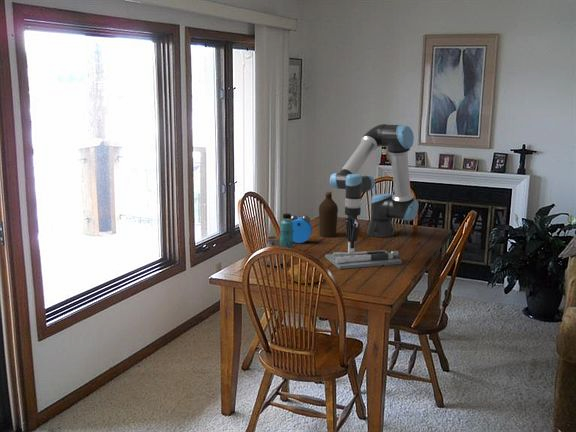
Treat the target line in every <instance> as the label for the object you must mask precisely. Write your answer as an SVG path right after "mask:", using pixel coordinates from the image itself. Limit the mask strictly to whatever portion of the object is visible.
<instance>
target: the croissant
mask: <svg viewBox="0 0 576 432" xmlns="http://www.w3.org/2000/svg"><path fill="white" fill-rule="evenodd" d="M305 263H306V262H302V263H301V264H302V284H301V285H305V284H304V280H305ZM298 264H299V263H297V264H295V265H293V266H294V280H295V282H294V283H297V281H298ZM287 274H288V276H287V278H288V277H289V278H288V280H289V281H291V267H290V268H289V269H288V271H287ZM311 276H312V267H310V268H309V278H308V279H309V282H310V281H311ZM317 282H320V281H319V277H318V273H317V272H316V273H315V283H314V284H316V283H317Z"/></svg>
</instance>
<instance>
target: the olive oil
mask: <svg viewBox="0 0 576 432" xmlns="http://www.w3.org/2000/svg"><path fill="white" fill-rule="evenodd" d="M332 193H333V192H332V191H329V190H328V191H325V199H324V200H323V201H322V202H321V203H320V204H319V205H318V206H319V207H318V217H319V219H318V221H319V222H318V223H319V225H318V226H319V227H318V228H319V230H318V231H319V236H320V237H322V238H334V237H336V236H337V229H338V228H337V226H338V214H339V207H338V204H337V203H336V202H335V200H334V199H333V198H332Z"/></svg>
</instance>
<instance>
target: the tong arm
mask: <svg viewBox="0 0 576 432" xmlns="http://www.w3.org/2000/svg"><path fill="white" fill-rule="evenodd" d="M368 251H369V252H364V251H354V252H348V251H347V252H341V251H340V252H339V251H336V252H335V251H333V252H332V254H333V258H334V259H335V257H341V256H354V255H367V254H378V253H387V252H388V251H387V250H385V251H378V250H368ZM386 251H387V252H386Z"/></svg>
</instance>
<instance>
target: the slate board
mask: <svg viewBox="0 0 576 432" xmlns="http://www.w3.org/2000/svg"><path fill="white" fill-rule="evenodd" d="M369 251H370V250H366V251H365V250H364V251H363V252H369ZM377 251H386V252H387V253H390V252H389V251H387V250H386V249H380V250H377ZM324 258H325V259H327V260H328V261H329V262H330V263H332V265H334V267H336V268H338V270H346V269H357V268H368V267H382V265H384V266H393V265H394V266H395V264H396V265H403V260H401V259H400V258H399V257H398V258H393V259H383V260H368V261H355V262H345V263H336V262H335V259H334V258H333V253H327V254H325V255H324Z"/></svg>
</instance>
